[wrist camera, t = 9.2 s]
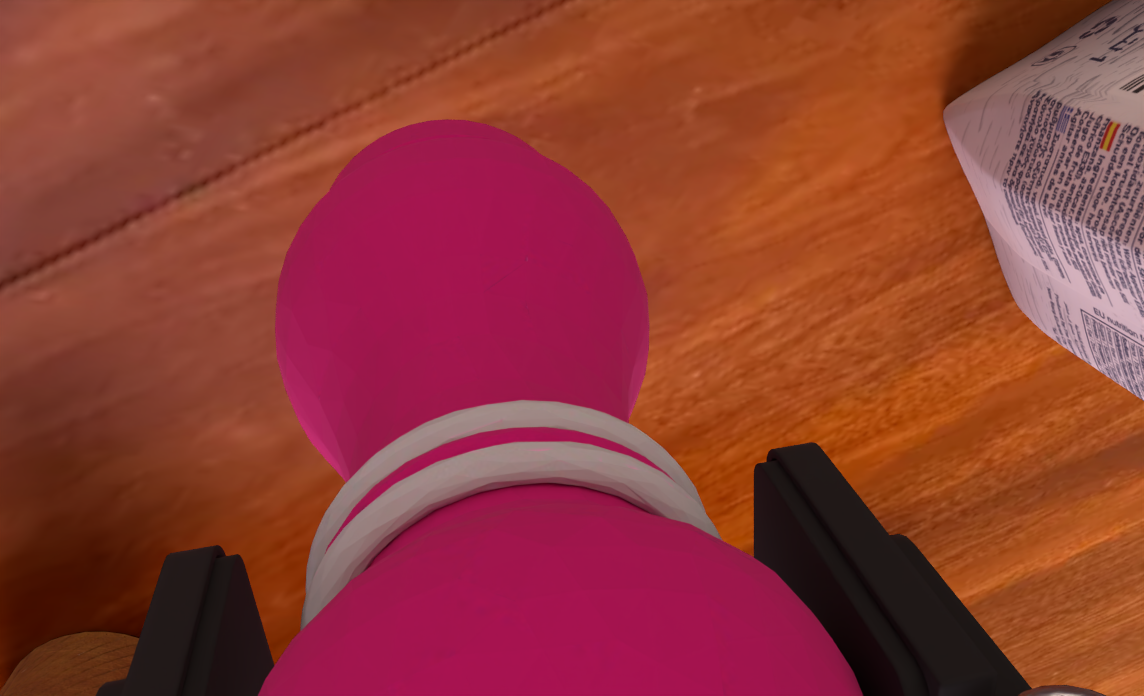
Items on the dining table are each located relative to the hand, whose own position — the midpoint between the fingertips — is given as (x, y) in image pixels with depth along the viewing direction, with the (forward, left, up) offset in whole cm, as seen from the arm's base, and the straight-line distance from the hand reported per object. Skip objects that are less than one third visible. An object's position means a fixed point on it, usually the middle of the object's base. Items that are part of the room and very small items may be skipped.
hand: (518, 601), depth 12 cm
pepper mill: (0, 0, -13) cm, 13 cm away
